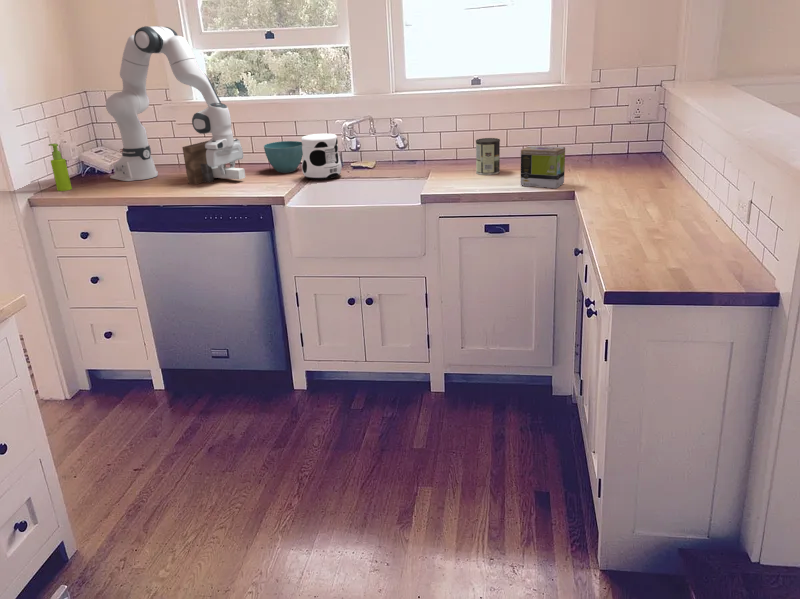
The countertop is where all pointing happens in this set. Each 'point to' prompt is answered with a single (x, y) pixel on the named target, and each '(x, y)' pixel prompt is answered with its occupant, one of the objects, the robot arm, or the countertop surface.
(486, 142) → the coffee can
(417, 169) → the countertop surface
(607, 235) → the countertop surface
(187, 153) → the brown wooden block
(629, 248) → the countertop surface
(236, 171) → the white t-shaped piece
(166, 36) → the robot arm
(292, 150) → the teal bowl
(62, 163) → the soap dispenser
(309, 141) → the milk container
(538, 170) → the tea box
